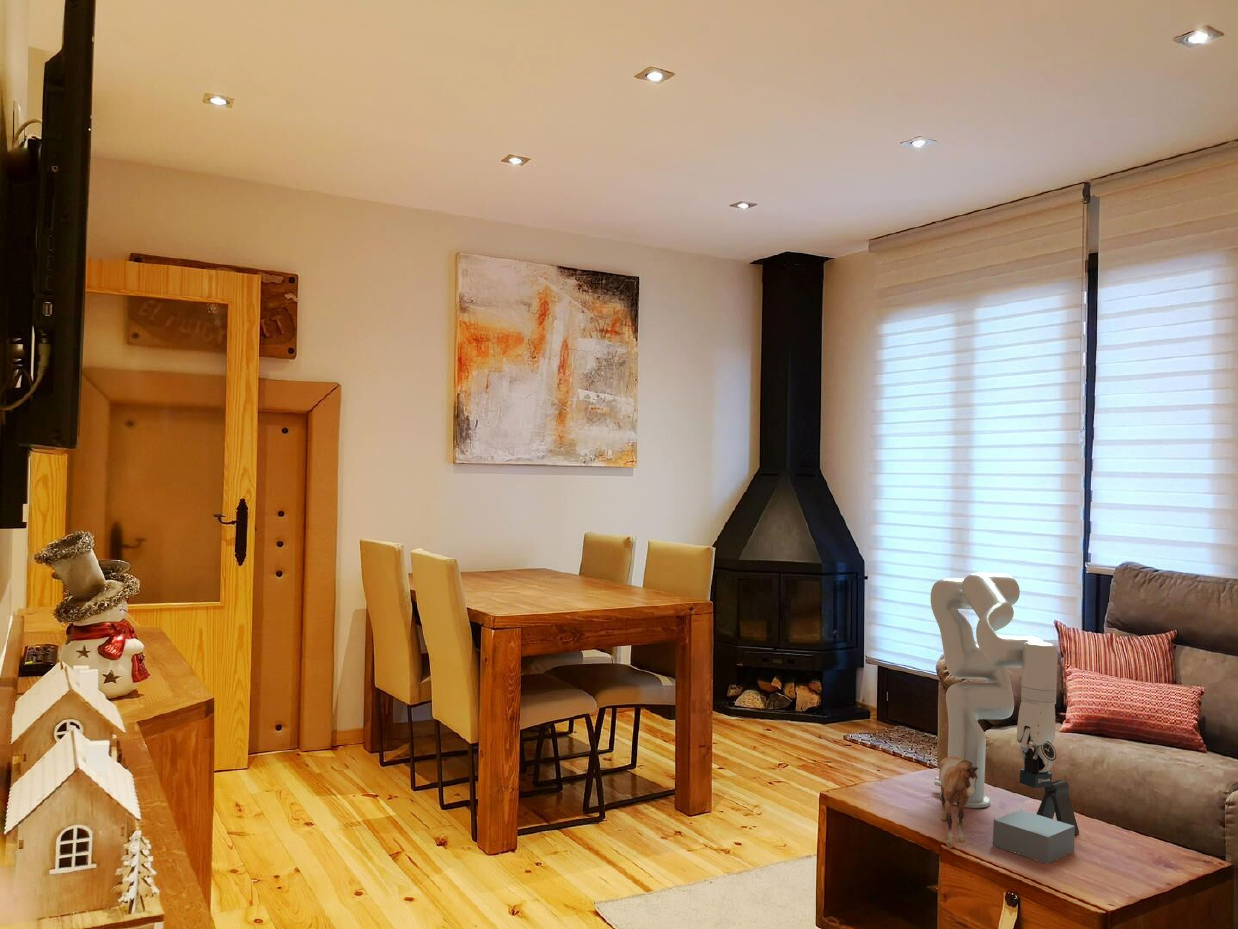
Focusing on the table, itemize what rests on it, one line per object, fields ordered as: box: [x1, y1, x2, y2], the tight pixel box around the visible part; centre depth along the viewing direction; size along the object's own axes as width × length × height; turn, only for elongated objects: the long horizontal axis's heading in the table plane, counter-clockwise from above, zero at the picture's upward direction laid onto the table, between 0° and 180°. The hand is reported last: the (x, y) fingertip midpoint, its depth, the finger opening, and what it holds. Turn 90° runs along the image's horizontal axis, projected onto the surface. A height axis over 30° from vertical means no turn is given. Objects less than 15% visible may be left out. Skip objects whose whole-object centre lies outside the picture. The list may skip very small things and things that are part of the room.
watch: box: [1018, 741, 1057, 789], centre depth 221 cm, size 6×8×11 cm
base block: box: [992, 809, 1075, 865], centre depth 221 cm, size 13×13×6 cm
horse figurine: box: [938, 756, 978, 849], centre depth 229 cm, size 31×8×21 cm, turn 162°
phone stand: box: [1036, 779, 1080, 836], centre depth 234 cm, size 9×6×12 cm, turn 36°
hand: (1036, 773), depth 221 cm, fingers closed on watch, 3 cm apart
